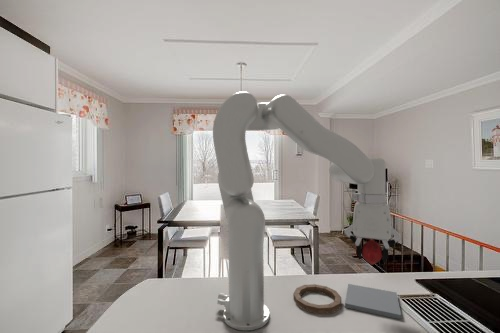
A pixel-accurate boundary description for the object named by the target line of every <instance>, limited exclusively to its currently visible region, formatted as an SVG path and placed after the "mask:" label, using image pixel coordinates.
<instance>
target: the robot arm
mask: <svg viewBox="0 0 500 333" xmlns="http://www.w3.org/2000/svg"><path fill="white" fill-rule="evenodd" d="M278 129H280V130H281V131H282V132H283V134H286V135H287V137H289V138H290V139H291V140H292V141H293V142H295V144H297V145H298V147H300V148H301V149H302V150H304V151H305V152H308V153H310V154H313V155H316V156H319V157H322V158H324V159H326V160H328V161H330V162H331V163H330V165H329V169H328V172H329V175H330V178H332V179H333V180H335V181H336V182H339V183H345V184H353V185H357V193H356V194H352V200H356V201H357V202H355V203H354V208H353V214H352V215H353V217H352V219H353V220H352V223H351V224H350V225H349V226H348V227H347V228H346V229H345V230H344V232H343V233H344V234H345V235H346V237H347V238H349V239H350V240H351V241H352V242H353V244H354V245H355V247H356V248H355V252H356V253H355V256H358V260H362V253H361V249H362V243H361V241H362V239H367V240H368V239H369V240H370V239H374V240H379V241H382V243H383V246H382V247H381V248H382V251H383V256H382V262H383V263H384V264H387V260H389V250H390V248H391V247H393V246H394V245H396V243H397V242H399V241H400V240H401V239H402V236H401V234H400V233H399V232H398V231H397V230H396V229H395V228H394V227H393V226H392V216H391V211H390V210H391V209H390V205H389V204H388V203H386V200H387V198H386V196H387V195H386V194H387V193H386V191H387V190H386V188H387V187H386V183H387V181H386V180H387V179H386V161H385V159H384V158H383V157H382V158H381V157H369V156H368V155H366V153H364V152H363V151H362V150H361V149H360V147H358V146H357V145H356V144H354V143H353V142H352V141H350V140H349V139H347V138H345V137H343V136H342V135H340V134H338V133H336V132H334V131H333V130H332V129H328V128H327V127H325V126H324V125H322V124H321V123H320V122H319V121H318V120H317V119H316V118H315V117H314V116H313V115H312V114H311V113H310V112H309V111H308V110H307V109H306V108H304V107H303V106H302V105H301V104H300V103H299V102H298V101H297V100H296V99H294V98H293V97H292V96H291V95H288V94H284V93H283V94H278V95H276V96H275V97H274V98H272V99H271V100H269V101H268V102H258V100H257V98H256V97H255V96H254V95H253V94H252V93H251V92H248V91H237V92H235V93H233V94H232V95H230V96H229V97H227V98H226V99H225V101H224V102H223V103H222V104H221V105H220V107H219V108H218V110H217V112H216V115H215V117H214V120H213V126H212V140H213V148H214V152H215V157H216V163H217V168H218V173H217V184H218V188H219V192H220V196H221V197H220V198H221V201H222V205H223V209H224V214H225V218H226V221H227V223H228V242H227V243H228V244H227V245H228V248H227V250H228V251H227V254H228V256H227V258H228V294H227V293H223V292H219V293H218V296H217V298H218V299H217V305H219V306H224V307H225V308H224V310H223V313H222V315H223V317H222V318H223V321H224V323H225V324H226V325H227V326H229V327H230V328H231V329H235V330H239V331H253V330H257V329H260V328H262V327H264V326H265V325H267V323H268V322H269V320H270V319H271V317H270V316H271V314H270V309H269V308H268V306H267V305H266V304H265V302H264V301H265V299H264V298H265V295H264V294H265V288H264V287H265V285H264V284H265V282H264V279H265V278H264V276H265V275H264V270H265V268H264V263H265V262H264V241H265V231H266V218H265V214H264V212H263V209H262V208H261V206H260V205H259V204H258V203H256V202H255V201H254V200H255V199H254V196H253V195H254V194H253V192H252V188H253V186H254V181H255V179H254V173H253V170H252V166H251V162H250V158H249V157H250V156H249V152H248V148H247V141H246V133H247V132H246V131H272V130H278ZM352 233H353V234H352ZM392 235H393V236H392Z"/></svg>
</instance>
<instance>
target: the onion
mask: <svg viewBox="0 0 500 333" xmlns="http://www.w3.org/2000/svg"><path fill="white" fill-rule="evenodd" d="M361 257H362V258H363V259H364V260H365V261H366V262H367V263H369V264H370V265H372V266H373V265H375V264H377V263H379V262H380V261H381V260H383V251H382V247H381V245H380V244H379V243H378V242H377V241H375V239H369V240H368V241H366V242H364V243H363V245H361Z"/></svg>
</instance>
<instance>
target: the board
mask: <svg viewBox="0 0 500 333" xmlns="http://www.w3.org/2000/svg"><path fill="white" fill-rule="evenodd" d="M344 307H345V309H350V310H357V311H360V312H364V313H370V314H375V315H378V316H383V317H387V318H393V319H396V320H397V319H398V320H402V311H401V308H400V303H399V298H398V294H397V292H395V291H392V290H391V291H390V290H385V289H379V288H374V287H373V288H372V287H369V286H364V285H357V284H351V283H348V284H347V289H346V295H345V302H344Z"/></svg>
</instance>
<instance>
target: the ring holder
mask: <svg viewBox="0 0 500 333" xmlns="http://www.w3.org/2000/svg"><path fill="white" fill-rule="evenodd" d="M314 292H315V293H321V294H325V295H327V296H329V297H331V298H332V299H333V301H332V302H330V303H328V304H316V303H311V302H308V301H307V300H305V299H303V298H302V297H301V296H302V295H304V294H305V293H314ZM292 294H293V295H292V297H293V300H294V302H295V305H296V306H298V307H299V308H301V309H302V310H304V311H305V312H310V313H314V314H318V315H324V314H326V315H327V314H333V313H335V312H337V311H339V310H341V306H342V296H341V294H340V293H339V292H337V290H334V289H333V288H331V287H328V286H327V285H321V284H315V283H313V284H303V285H301V286H298V287H296V288H295V290H294V291H293V293H292Z"/></svg>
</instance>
